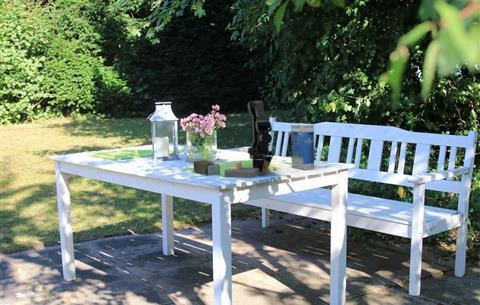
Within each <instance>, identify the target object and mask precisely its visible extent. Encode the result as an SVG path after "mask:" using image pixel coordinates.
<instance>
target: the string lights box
mask: <svg viewBox="0 0 480 305" xmlns="http://www.w3.org/2000/svg"><path fill="white" fill-rule="evenodd" d="M290 142H291V143H290V144H291V146H290V148H291V149H290V150H291V168H293V169H298V170H302V171H306V170H307V171H308V170H315V124H312V123H302V122H300V123H291V124H290Z"/></svg>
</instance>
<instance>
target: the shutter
mask: <svg viewBox="0 0 480 305" xmlns="http://www.w3.org/2000/svg"><path fill="white" fill-rule="evenodd" d="M242 166H243V162H242V161H238V162H236V163H235V166H231V167H229V168H227V170H241V169H242Z"/></svg>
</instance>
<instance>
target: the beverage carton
mask: <svg viewBox="0 0 480 305" xmlns="http://www.w3.org/2000/svg"><path fill="white" fill-rule="evenodd" d="M193 171H194V172H196V173H198V174H201V175H204V176H220V175H221V164H219V163H217V162H213V161H209V160H206V159H205V160H195V161H193Z"/></svg>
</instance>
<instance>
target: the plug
mask: <svg viewBox="0 0 480 305" xmlns="http://www.w3.org/2000/svg"><path fill="white" fill-rule="evenodd" d="M260 175H269V167H268V161H265V163H264V167H263V170H262V172H260Z"/></svg>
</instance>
